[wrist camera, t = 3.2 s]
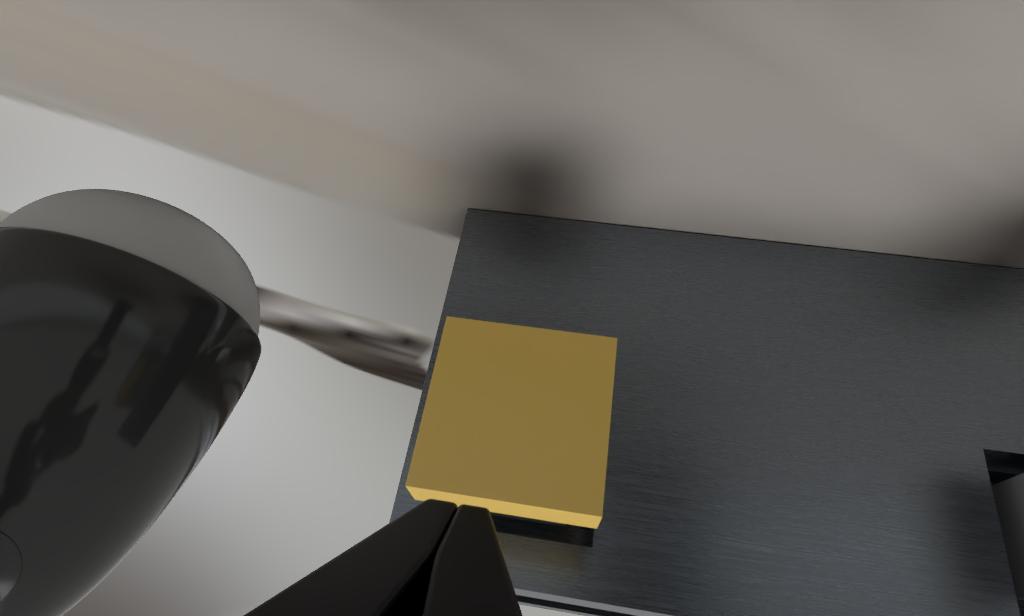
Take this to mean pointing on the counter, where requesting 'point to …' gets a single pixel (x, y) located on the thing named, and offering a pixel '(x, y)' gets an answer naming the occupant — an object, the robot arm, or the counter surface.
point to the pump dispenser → (108, 380)
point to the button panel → (766, 421)
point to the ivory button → (1012, 526)
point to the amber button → (517, 422)
